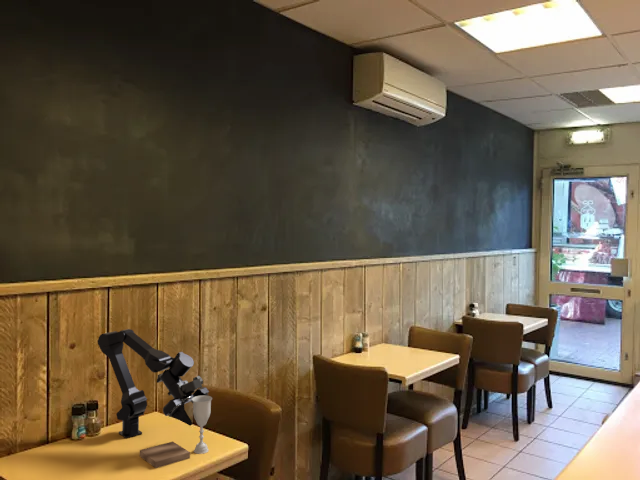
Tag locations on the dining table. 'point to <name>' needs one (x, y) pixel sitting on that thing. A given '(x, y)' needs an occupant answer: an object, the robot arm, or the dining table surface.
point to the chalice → (201, 418)
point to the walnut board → (164, 454)
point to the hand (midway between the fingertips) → (200, 420)
